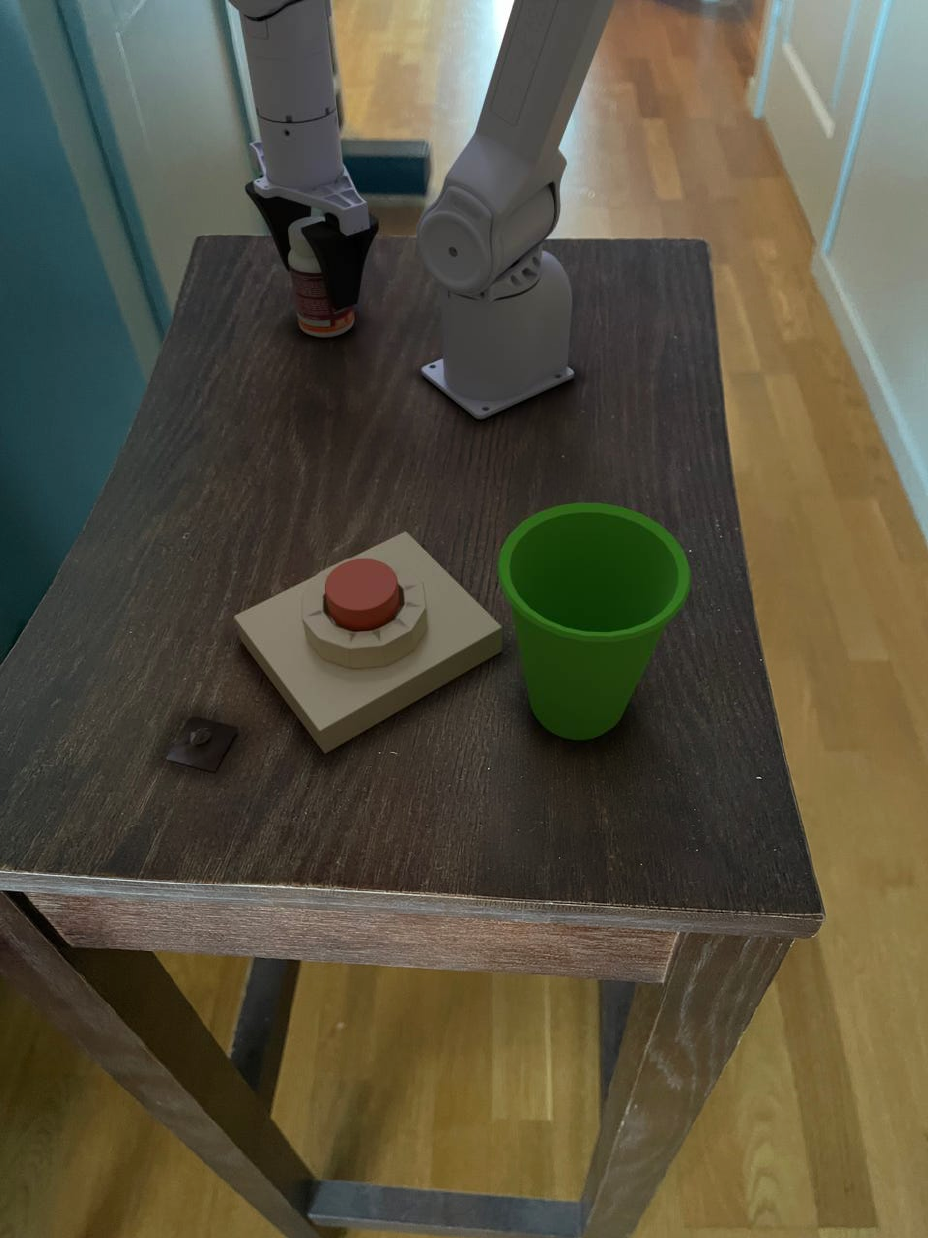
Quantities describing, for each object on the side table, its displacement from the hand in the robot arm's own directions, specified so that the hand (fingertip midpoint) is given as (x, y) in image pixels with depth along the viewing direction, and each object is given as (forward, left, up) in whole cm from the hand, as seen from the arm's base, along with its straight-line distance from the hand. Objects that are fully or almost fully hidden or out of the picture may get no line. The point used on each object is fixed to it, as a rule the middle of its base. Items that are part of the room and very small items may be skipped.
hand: (321, 285), depth 75 cm
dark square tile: (+27, +33, -4) cm, 43 cm away
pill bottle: (0, 0, -4) cm, 4 cm away
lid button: (+16, +33, 0) cm, 36 cm away
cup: (+9, +43, -4) cm, 44 cm away
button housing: (+16, +33, -3) cm, 36 cm away
